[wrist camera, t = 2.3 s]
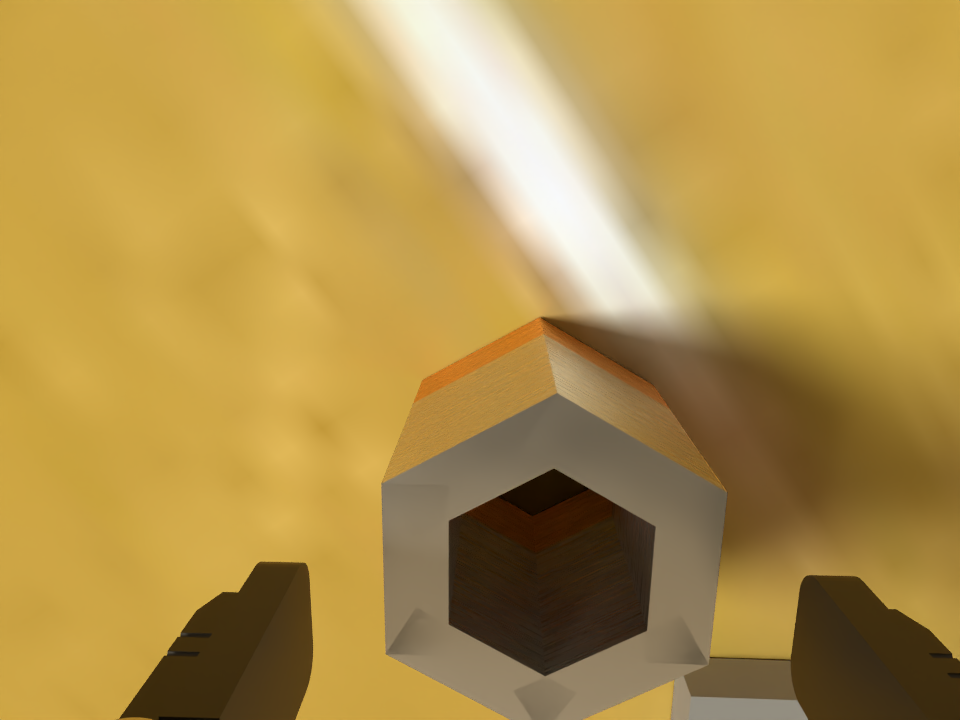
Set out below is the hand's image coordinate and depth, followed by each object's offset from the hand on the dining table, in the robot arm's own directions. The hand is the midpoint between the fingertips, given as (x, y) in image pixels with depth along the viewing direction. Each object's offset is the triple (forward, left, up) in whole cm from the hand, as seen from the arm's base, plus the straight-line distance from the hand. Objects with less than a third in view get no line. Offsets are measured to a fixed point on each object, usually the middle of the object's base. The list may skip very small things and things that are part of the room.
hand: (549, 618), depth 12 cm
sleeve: (0, 0, -7) cm, 7 cm away
